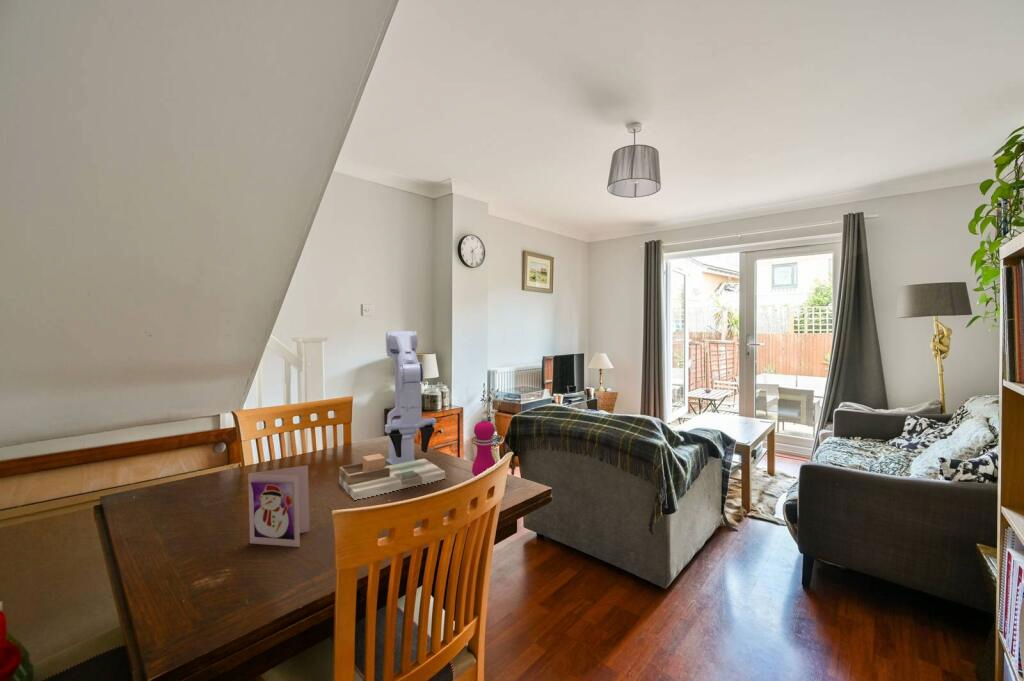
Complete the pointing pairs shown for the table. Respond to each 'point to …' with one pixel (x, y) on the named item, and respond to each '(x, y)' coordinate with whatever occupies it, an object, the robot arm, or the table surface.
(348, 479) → the wooden frame
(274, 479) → the greeting card
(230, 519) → the table surface
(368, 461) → the cube
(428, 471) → the plate
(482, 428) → the pepper mill
